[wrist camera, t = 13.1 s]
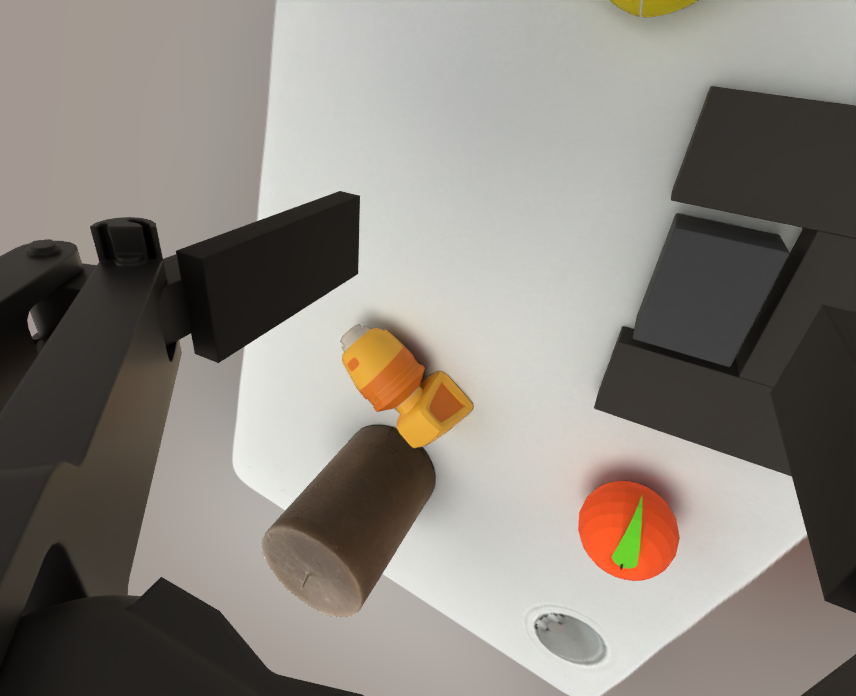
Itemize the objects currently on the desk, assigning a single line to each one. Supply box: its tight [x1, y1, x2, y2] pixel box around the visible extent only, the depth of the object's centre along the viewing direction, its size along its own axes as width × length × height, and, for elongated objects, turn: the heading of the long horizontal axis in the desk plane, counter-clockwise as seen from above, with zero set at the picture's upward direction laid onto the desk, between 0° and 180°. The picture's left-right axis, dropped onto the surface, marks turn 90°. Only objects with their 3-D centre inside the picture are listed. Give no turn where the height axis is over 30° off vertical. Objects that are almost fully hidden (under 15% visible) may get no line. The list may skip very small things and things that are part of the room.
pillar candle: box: [262, 425, 435, 617], centre depth 44 cm, size 10×10×15 cm
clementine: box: [578, 481, 679, 581], centre depth 36 cm, size 8×7×7 cm
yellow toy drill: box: [340, 324, 473, 448], centre depth 41 cm, size 5×6×12 cm
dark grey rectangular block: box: [633, 214, 790, 367], centre depth 29 cm, size 7×6×4 cm
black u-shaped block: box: [594, 86, 856, 476], centre depth 28 cm, size 20×14×2 cm
